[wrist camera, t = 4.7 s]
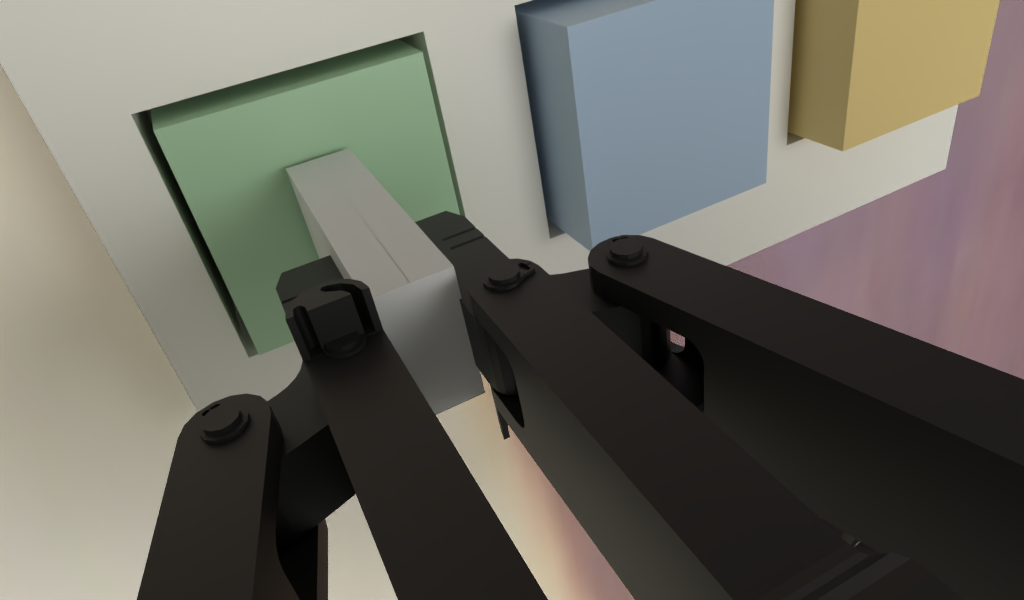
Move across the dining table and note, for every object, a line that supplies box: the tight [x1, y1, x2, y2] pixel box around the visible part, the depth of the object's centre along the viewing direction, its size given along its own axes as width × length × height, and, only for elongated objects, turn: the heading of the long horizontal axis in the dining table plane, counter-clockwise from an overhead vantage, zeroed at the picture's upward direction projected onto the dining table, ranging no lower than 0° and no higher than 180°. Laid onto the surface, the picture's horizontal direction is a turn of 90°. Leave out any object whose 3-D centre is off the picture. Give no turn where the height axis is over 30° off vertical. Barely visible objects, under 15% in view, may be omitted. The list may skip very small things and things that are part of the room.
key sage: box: [150, 39, 460, 355], centre depth 19 cm, size 6×6×4 cm
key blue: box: [514, 0, 774, 251], centre depth 20 cm, size 6×6×4 cm
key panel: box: [0, 0, 958, 412], centre depth 22 cm, size 28×14×6 cm, turn 100°
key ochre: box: [788, 0, 1000, 151], centre depth 22 cm, size 6×6×4 cm
